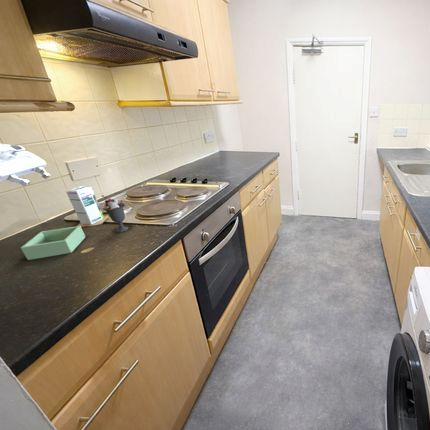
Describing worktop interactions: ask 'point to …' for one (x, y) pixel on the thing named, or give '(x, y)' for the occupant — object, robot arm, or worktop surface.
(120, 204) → the sundae
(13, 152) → the robot arm
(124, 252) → the worktop surface
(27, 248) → the green square tray
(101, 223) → the wooden mat
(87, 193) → the syrup box
